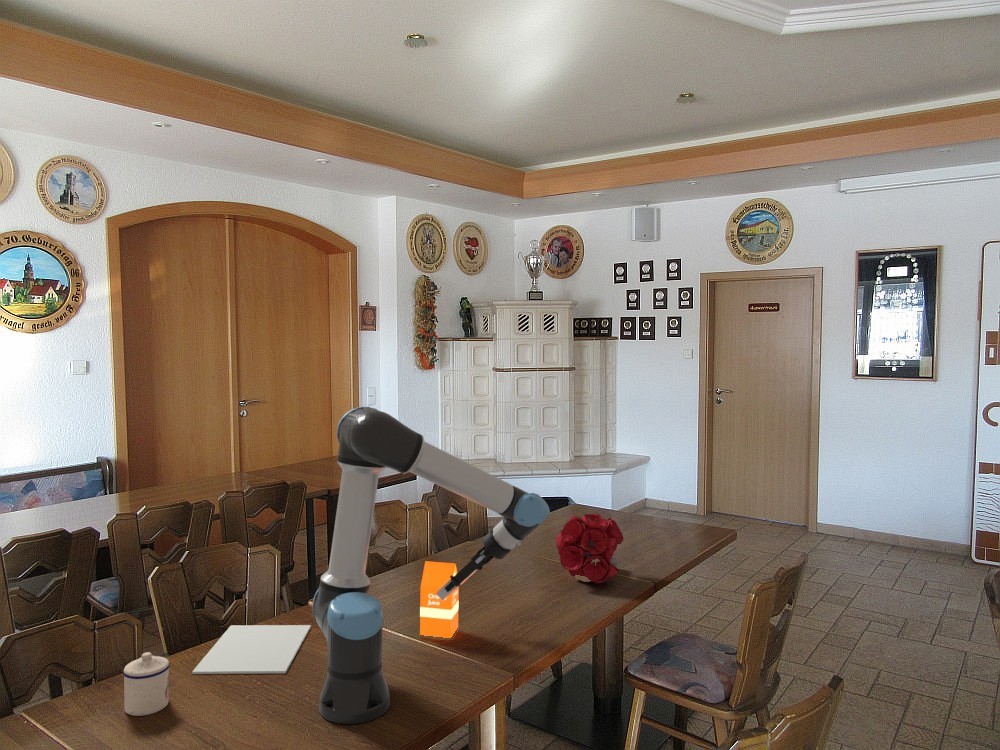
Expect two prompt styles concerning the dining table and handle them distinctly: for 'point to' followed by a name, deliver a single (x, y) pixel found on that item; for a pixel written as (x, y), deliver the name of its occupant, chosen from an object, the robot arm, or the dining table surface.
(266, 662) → the rubber mat
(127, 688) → the teacup with lid
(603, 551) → the bouquet
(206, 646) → the dining table surface
